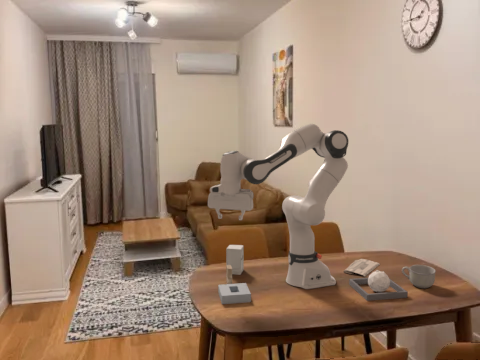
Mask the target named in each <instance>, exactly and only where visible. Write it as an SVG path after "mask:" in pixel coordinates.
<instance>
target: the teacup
mask: <svg viewBox="0 0 480 360" xmlns="http://www.w3.org/2000/svg"><path fill="white" fill-rule="evenodd" d="M405 270H407V271H408V273H409V274H407V273H406V272H405ZM436 271H437V270H436V269H435V268H434V267H432V266H429V265H426V264H413V265H411V266H403V267H402V268H401V273H402V274H403V276H405V277H406V278H407V279H408V280H409V282H410V283H411V284H412V285H413V286H414V287H415V288H418V289H428V288H431V287H432V286H433V285H434V284H435V280H436V279H435V278H436Z"/></svg>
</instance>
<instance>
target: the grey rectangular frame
mask: <svg viewBox="0 0 480 360" xmlns="http://www.w3.org/2000/svg"><path fill="white" fill-rule="evenodd" d="M368 278H369V277H361V278H360V277H358V278H349V279H348V285H349V286H350V287H351V288H352V289H353V290H354V291H356V292H357V293H358V294H359V295H360V296H361V297H362V298H363V299H365V301H367V302H368V301H379V300H380V301H381V300H392V299H393V300H394V299H408V294H409V293H408V291H407V290H406V289H405V288H403V287H402V286H401V285H399V284H397V283H396V282H394V280H392V279H391V278H389V280H390V285H389V288H391V289H393V290H394V291H389V292H386V291H384V292H380V293H379V292H376V293H375V292H374V293H368V292H367V291H366V290H365V289H364V288H363V287H361V285H369V284H368Z"/></svg>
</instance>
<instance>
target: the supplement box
mask: <svg viewBox="0 0 480 360" xmlns="http://www.w3.org/2000/svg"><path fill="white" fill-rule="evenodd" d="M244 247H245V246H244V245H242V244H229V245H228V246H227V247H226V250H225V252H226V253H225V254H226V255H225V256H226V260H225V261H226V264H225V266H226V265H231V267H232V275H239V276H240V275H242V273H243V271H244V267H245V265H244V264H245V263H244V262H245V261H244Z"/></svg>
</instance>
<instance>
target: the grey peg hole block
mask: <svg viewBox="0 0 480 360" xmlns="http://www.w3.org/2000/svg"><path fill="white" fill-rule="evenodd" d="M217 288H218V289H217V290H218V292H217V293H218V296H219V300H220V303H221V305H227V304H228V305H229V304H231V305H232V304H242V303H251V302H252V293H251V291H250V289H249V287H248V284H247V282H242V283H241V282H240V283H232V284H227V283H226V284H223V283H222V284H218V286H217Z"/></svg>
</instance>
